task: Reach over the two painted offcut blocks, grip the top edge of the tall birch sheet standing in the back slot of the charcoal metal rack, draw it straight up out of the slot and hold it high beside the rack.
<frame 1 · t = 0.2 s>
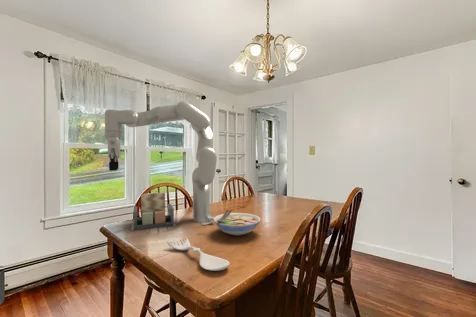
hand: (114, 169, 115), 31 cm above the table, tool pointing down, fingers open, 9 cm apart
offcut rack: (153, 227, 123), on the table
birch sheet: (153, 223, 126), point 1 cm above the table, touching offcut rack
coffee cup: (150, 219, 139), on the table
white spork utensil: (197, 258, 86), on the table
ramen bowl: (237, 233, 113), on the table
terracotta offcut: (159, 225, 122), point 1 cm above the table, touching offcut rack
sage offcut: (147, 226, 119), point 1 cm above the table, touching offcut rack
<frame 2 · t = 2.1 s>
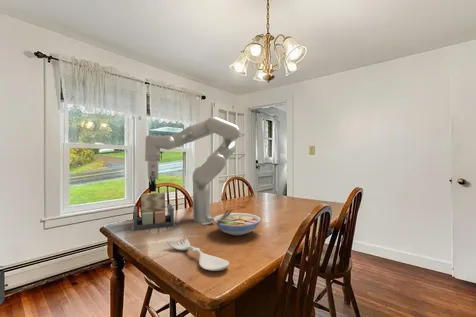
hand: (152, 190, 125), 19 cm above the table, tool pointing down, fingers open, 9 cm apart
nothing on the table moved.
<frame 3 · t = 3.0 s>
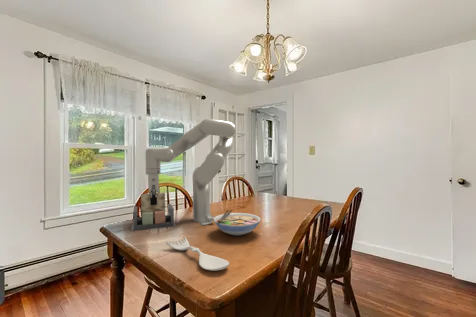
hand: (153, 203, 126), 12 cm above the table, tool pointing down, fingers open, 9 cm apart
nothing on the table moved.
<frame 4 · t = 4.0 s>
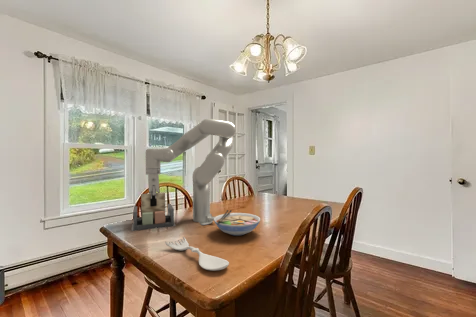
hand: (153, 205, 126), 11 cm above the table, tool pointing down, fingers closed on birch sheet, 2 cm apart
birch sheet: (153, 223, 126), point 2 cm above the table, touching gripper
everything else where it was.
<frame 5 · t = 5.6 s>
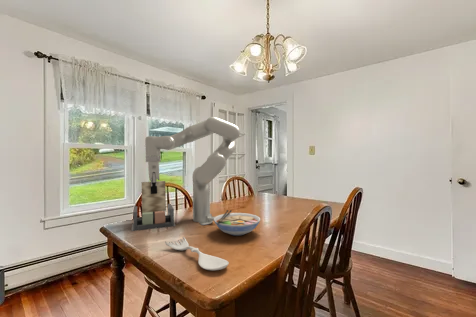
hand: (153, 193, 126), 18 cm above the table, tool pointing down, fingers closed on birch sheet
birch sheet: (154, 211, 126), point 8 cm above the table, touching gripper
everything else where it was.
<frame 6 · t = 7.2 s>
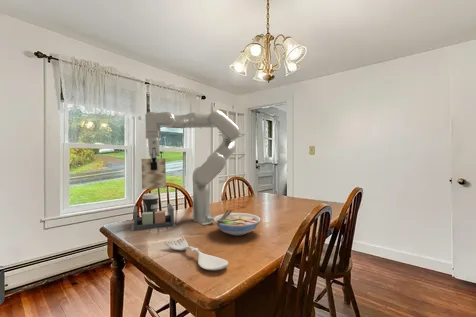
hand: (153, 169, 125), 30 cm above the table, tool pointing down, fingers closed on birch sheet
birch sheet: (154, 188, 126), point 20 cm above the table, touching gripper
everything else where it was.
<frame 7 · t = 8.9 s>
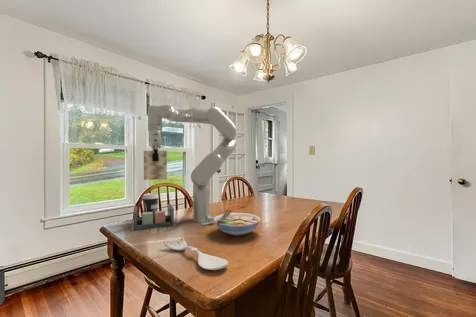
hand: (155, 160, 130), 35 cm above the table, tool pointing down, fingers closed on birch sheet
birch sheet: (155, 179, 130), point 25 cm above the table, touching gripper
everything else where it was.
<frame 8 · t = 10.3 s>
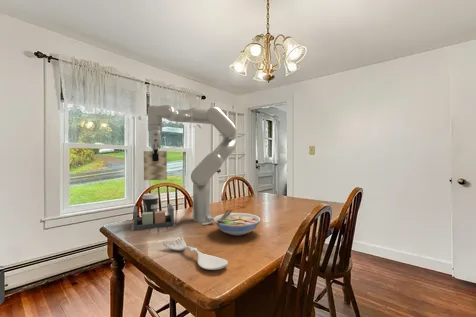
hand: (155, 160, 130), 35 cm above the table, tool pointing down, fingers closed on birch sheet
birch sheet: (155, 179, 130), point 24 cm above the table, touching gripper
at the end: birch sheet point 24.4 cm above the table; the gripper is holding birch sheet; terracotta offcut moved 0.0 cm from its start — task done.
